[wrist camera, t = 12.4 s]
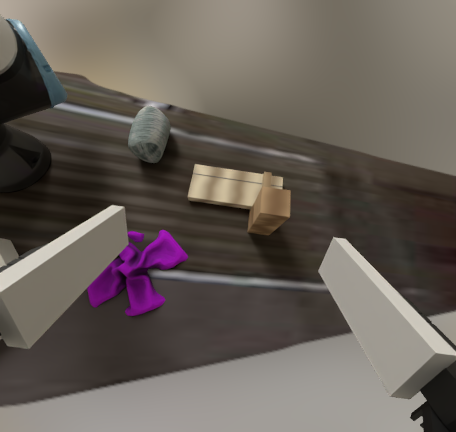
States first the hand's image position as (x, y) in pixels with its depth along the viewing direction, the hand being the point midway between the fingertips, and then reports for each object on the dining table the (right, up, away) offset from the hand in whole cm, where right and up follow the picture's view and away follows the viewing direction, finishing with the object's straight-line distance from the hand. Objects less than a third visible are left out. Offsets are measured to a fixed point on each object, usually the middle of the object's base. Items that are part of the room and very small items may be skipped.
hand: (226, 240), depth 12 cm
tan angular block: (+8, +3, +33) cm, 34 cm away
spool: (-19, +20, +38) cm, 47 cm away
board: (+2, +8, +35) cm, 35 cm away
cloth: (-20, -9, +28) cm, 36 cm away
